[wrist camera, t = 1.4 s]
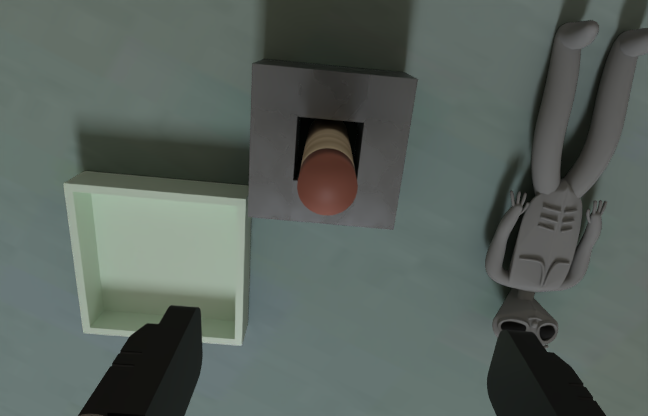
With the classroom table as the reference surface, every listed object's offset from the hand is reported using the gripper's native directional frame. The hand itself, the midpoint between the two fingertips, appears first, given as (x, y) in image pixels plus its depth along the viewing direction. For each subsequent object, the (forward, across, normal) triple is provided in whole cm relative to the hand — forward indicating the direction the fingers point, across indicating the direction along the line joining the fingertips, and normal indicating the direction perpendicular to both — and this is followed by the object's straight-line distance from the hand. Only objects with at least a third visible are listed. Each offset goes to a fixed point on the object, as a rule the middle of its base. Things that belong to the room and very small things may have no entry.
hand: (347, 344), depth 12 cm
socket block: (+23, +1, 0) cm, 23 cm away
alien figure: (+24, -17, +3) cm, 29 cm away
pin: (+23, +1, 0) cm, 23 cm away
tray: (+23, +13, +10) cm, 28 cm away
